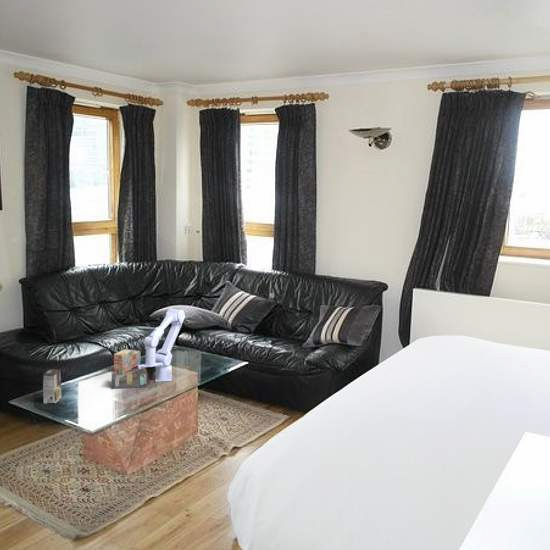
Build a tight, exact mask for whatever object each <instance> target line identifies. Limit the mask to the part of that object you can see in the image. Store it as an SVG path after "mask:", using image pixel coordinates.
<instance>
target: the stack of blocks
mask: <svg viewBox="0 0 550 550" xmlns="http://www.w3.org/2000/svg"><path fill="white" fill-rule="evenodd" d="M141 353H142V352H141V351H140V350H133V349H126V348H125V349H122V350H120V351H118V352H115V353H113V374H115V373H116V374H118V375H123V374H127V372H129V370H130V371H131V370H133V369H135V368H137V367H138V365H140V364H142V363H141V361H142V356H141ZM136 366H137V367H136ZM134 367H135V368H134ZM132 368H133V369H132Z"/></svg>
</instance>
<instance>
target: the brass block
mask: <svg viewBox="0 0 550 550" xmlns="http://www.w3.org/2000/svg"><path fill="white" fill-rule="evenodd" d="M126 380H127V385H132V380H133V373H126Z"/></svg>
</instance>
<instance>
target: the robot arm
mask: <svg viewBox="0 0 550 550" xmlns="http://www.w3.org/2000/svg"><path fill="white" fill-rule="evenodd" d="M185 319H186V313H185V311H184V310H183V309H176V308H172V307H170V308H168V309H167V311H166V313H165V317H164V318H163V320H162V322H161V323H160V325H159V326H155V328H154V329H153V330H152V332H151V333H150V335H148V336H146V337H145V338H144V340H143V345H144V349H145V363H141V365H138V366H137V369H139V370H142V369H145V370H146V374H147V376H148V379H149V381H151V380H153V376H154V374H155V378H154V380H155V382H156V383H157V382H159V383H161V382H172V379H173V374H172V373H173V372H172V371H173V370H172V364H171V362H172V358H173V354H172V348H173V347H174V344H175V342H176V339H177V337H178V335H179V332H180V330H181V328H182V325H183V322H184V321H185ZM170 324H171V327H170V329H169V331H168V333H167V335H166V338H165V340H164V342H163V345H162V347H161V348H160V349H158V350H157V346H158V344H159V342H160V338H161V337H162V336H163V335H164V333H165V329H166V328H167V327H168V326H169V325H170Z"/></svg>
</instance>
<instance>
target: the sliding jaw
mask: <svg viewBox="0 0 550 550" xmlns="http://www.w3.org/2000/svg"><path fill="white" fill-rule="evenodd" d="M139 379H140V385H144V384H146V379H147V371H143V373H139Z"/></svg>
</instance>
